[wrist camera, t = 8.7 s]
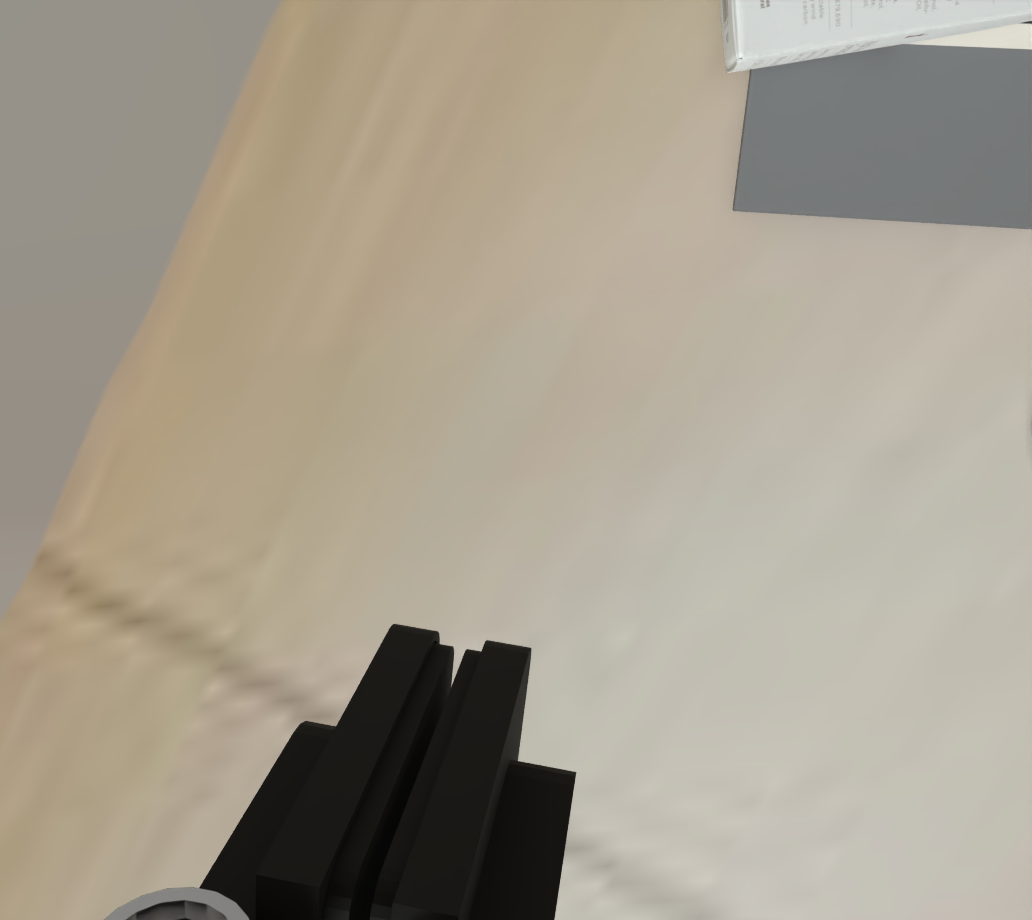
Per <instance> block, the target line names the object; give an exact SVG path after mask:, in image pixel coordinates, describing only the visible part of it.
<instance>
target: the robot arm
mask: <svg viewBox="0 0 1032 920" xmlns="http://www.w3.org/2000/svg"><path fill="white" fill-rule="evenodd" d="M439 643H440V638H439V633H438V631H432V630H426V629H421V628H415V627H409V626H404V625H398V624H393V625H392V626H391V627H390V629H389V631H388V632H387V634H386V636H385V638H384V640H383V642H382V643H381V645H380V647H379V649H378V651H377V653H376V654H375V656H374V658H373V660H372V662H371V664H370V665H369V667H368V669H367V671H366V673H365V675H364V676H363V678H362V680H361V682H360V684H359V686H358V687H357V689H356V691H355V693H354V695H353V697H352V698H351V700H350V702H349V704H348V706H347V708H346V710H345V711H344V713H343V715H342V717H341V719H340V721H339V722H338V724H337V726H336V727H335V726H330V725H325V724H320V723H314V722H309V721H305V722H303V723H301V724H300V725H299V726H298V727H297V729H296V730H295V731H294V733H293V734H292V736H291V738H290V739H289V741H288V743H287V744H286V746H285V748H284V749H283V751H282V752H281V754H280V756H279V757H278V759H277V761H276V762H275V764H274V766H273V767H272V769H271V771H270V772H269V774H268V776H267V777H266V779H265V780H264V782H263V784H262V785H261V787H260V789H259V790H258V792H257V794H256V795H255V797H254V799H253V800H252V802H251V804H250V805H249V807H248V808H247V810H246V812H245V813H244V815H243V817H242V818H241V820H240V822H239V823H238V825H237V827H236V828H235V830H234V832H233V833H232V835H231V836H230V838H229V840H228V841H227V843H226V845H225V846H224V848H223V850H222V851H221V853H220V855H219V856H218V858H217V860H216V861H215V863H214V864H213V866H212V868H211V869H210V871H209V873H208V874H207V876H206V878H205V879H204V881H203V883H202V884H201V886H200V887H199V888H195V887H185V888H167V889H163V890H160V891H156V892H153V893H149V894H146V895H142V896H140V897H138V898H136V899H134V900H132V901H130V902H128V903H127V904H125V905H123V906H121V907H119V908H117V909H116V910H115V911H113V912H112V913H111V914H110V915H109V916H108V917H106V918H105V919H104V920H554V918H555V911H556V905H557V898H558V891H559V885H560V878H561V871H562V864H563V858H564V851H565V844H566V837H567V831H568V824H569V817H570V810H571V804H572V797H573V790H574V784H575V777H576V772H572V771H567V770H562V769H557V768H551V767H546V766H541V765H536V764H530V763H525V762H520V761H518V755H519V747H520V739H521V731H522V723H523V715H524V708H525V700H526V692H527V684H528V676H529V669H530V660H531V648H528V647H523V646H517V645H511V644H506V643H500V642H494V641H489V640H487V641H485V644H484V646H483V649H482V652H480V651H475V650H469V649H467V650H466V651H465V653H464V656H463V658H462V661H461V664H460V666H459V669H458V671H457V674H456V677H455V679H454V682H453V684H452V687H451V682H452V671H453V660H454V648H453V647H452V646H447V645H441V644H439Z"/></svg>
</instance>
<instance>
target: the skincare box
mask: <svg viewBox="0 0 1032 920" xmlns="http://www.w3.org/2000/svg"><path fill="white" fill-rule="evenodd" d="M720 8H721V24H722V37H723V47H724V56H725V64H726V72H727V73H732V72H738V71H744V70H750V69H757V68H763V67H769V66H775V65H782V64H788V63H794V62H800V61H806V60H812V59H818V58H823V57H829V56H835V55H841V54H847V53H852V52H858V51H864V50H870V49H878V48H884V47H889V46H895V45H900V44H906V43H911V42H917V41H923V40H929V39H935V38H940V37H946V36H952V35H958V34H964V33H969V32H975V31H981V30H986V29H992V28H997V27H1002V26H1008V25H1013V24H1017V23H1022V22H1027V21H1032V0H720Z"/></svg>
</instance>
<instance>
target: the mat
mask: <svg viewBox="0 0 1032 920" xmlns="http://www.w3.org/2000/svg"><path fill="white" fill-rule="evenodd" d="M733 211H742V212H758V213H775V214H791V215H807V216H823V217H840V218H856V219H872V220H889V221H905V222H921V223H937V224H954V225H970V226H986V227H1003V228H1019V229H1032V21H1027V22H1022V23H1017V24H1013V25H1008V26H1002V27H997V28H992V29H986V30H981V31H975V32H969V33H964V34H958V35H952V36H946V37H940V38H935V39H929V40H923V41H917V42H911V43H906V44H900V45H895V46H889V47H884V48H878V49H870V50H864V51H858V52H852V53H847V54H841V55H835V56H829V57H823V58H818V59H812V60H806V61H800V62H794V63H788V64H782V65H775V66H769V67H763V68H757V69H750V76H749V84H748V92H747V100H746V108H745V116H744V124H743V132H742V140H741V148H740V156H739V164H738V171H737V179H736V187H735V195H734V203H733Z"/></svg>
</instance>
